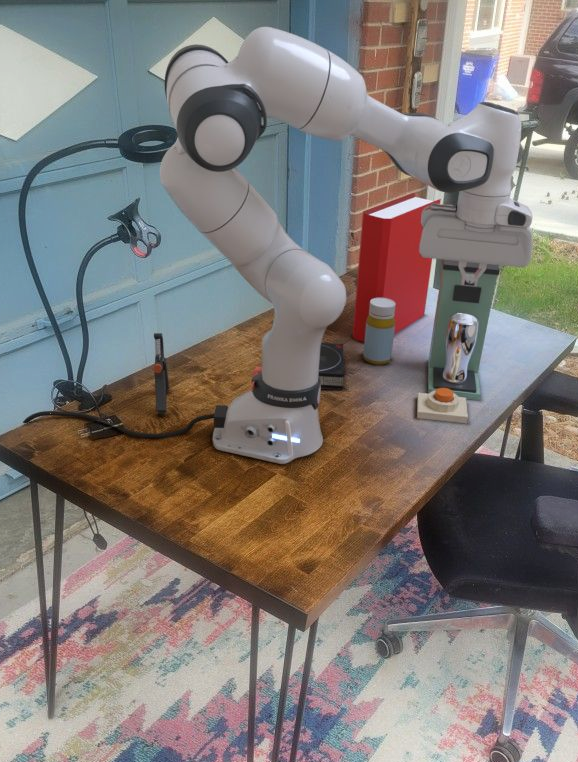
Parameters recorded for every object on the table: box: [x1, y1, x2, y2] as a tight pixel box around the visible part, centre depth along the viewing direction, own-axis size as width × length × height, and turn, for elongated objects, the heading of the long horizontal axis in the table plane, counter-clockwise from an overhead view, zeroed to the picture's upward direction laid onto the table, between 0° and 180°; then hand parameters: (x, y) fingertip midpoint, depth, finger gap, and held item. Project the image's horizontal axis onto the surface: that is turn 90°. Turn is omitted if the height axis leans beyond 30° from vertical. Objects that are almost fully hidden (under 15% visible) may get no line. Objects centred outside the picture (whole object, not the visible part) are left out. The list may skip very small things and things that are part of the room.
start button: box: [435, 388, 454, 403], centre depth 162 cm, size 4×4×2 cm
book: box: [352, 192, 442, 343], centre depth 191 cm, size 27×8×32 cm, turn 147°
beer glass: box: [442, 313, 479, 384], centre depth 168 cm, size 7×7×15 cm
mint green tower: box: [427, 259, 501, 401], centre depth 169 cm, size 13×18×27 cm
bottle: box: [362, 298, 396, 366], centre depth 178 cm, size 7×7×15 cm
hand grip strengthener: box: [152, 332, 170, 416], centre depth 153 cm, size 2×12×15 cm, turn 9°
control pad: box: [416, 391, 469, 424], centre depth 163 cm, size 11×9×4 cm
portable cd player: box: [319, 342, 345, 391], centre depth 173 cm, size 16×17×4 cm
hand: (468, 284), depth 135 cm, fingers closed
